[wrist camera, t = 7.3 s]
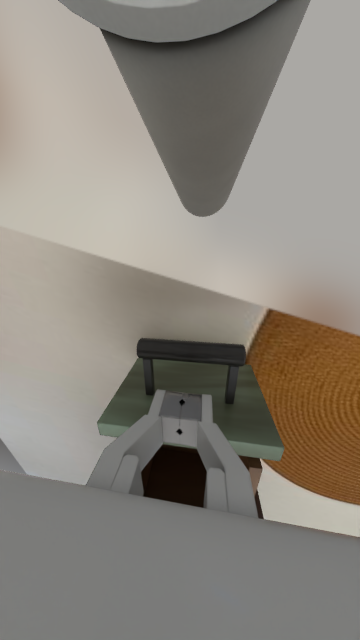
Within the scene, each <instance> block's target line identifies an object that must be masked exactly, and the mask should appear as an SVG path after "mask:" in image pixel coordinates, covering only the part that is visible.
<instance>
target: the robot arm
mask: <svg viewBox="0 0 360 640" xmlns="http://www.w3.org/2000/svg"><path fill="white" fill-rule="evenodd" d="M163 442H166V443H174V444H182V445H188V446H193V447H197V450H198V453H199V455H200V457H201V460H202V462H203V464H204V466H205V469H206V471H207V475H206V485H205V494H204V508H201V507H196V506H191V505H185V504H180V503H175V502H169V501H164V500H159V499H154V498H148V497H143V493H144V490H143V484H142V477H141V471H142V470H143V468H144V467H145V466H146V465H147V463H148V462H149V461H150V460H151V458H152V457H153V456H154V454H155V453H156V452H157V451H158V449H159V448H160V447H161V445H162V444H163ZM0 640H360V537H356V536H350V535H345V534H340V533H334V532H329V531H324V530H318V529H313V528H308V527H302V526H297V525H292V524H286V523H281V522H276V521H270V520H265V519H260V518H258V513H257V508H256V503H255V498H254V493H253V488H252V483H251V478H250V473H249V471H248V470H247V468H246V467H245V465H244V464H243V462H242V461H241V459H240V458H239V456H238V455H237V454H236V452H235V451H234V449H233V448H232V446H231V445H230V443H229V442H228V440H227V439H226V437H225V436H224V435H223V433H222V432H221V430H220V429H219V427H218V426H217V424H216V423H213V412H212V396H211V395H206V394H196V393H185V392H184V393H183V392H176V391H168V390H159V389H157V391H156V393H155V395H154V398H153V401H152V404H151V407H150V410H149V413H148V415H144V416H143V417H142V418H140V419H139V420H138V421H137V422H136V423H135V424H133V425H132V426H131V427H130V428H129V429H127V430H126V431H125V432H124V433H123V434H122V435H120V436H119V437H118V438H117V439H116V440H115V441H113V442H112V443H111V444H110V445H109V446H107V447H106V448H105V449H104V451H103V453H102V454H101V456H100V458H99V460H98V462H97V464H96V466H95V468H94V470H93V472H92V474H91V476H90V478H89V480H88V482H87V484H86V486H84V485H79V484H74V483H68V482H63V481H58V480H52V479H47V478H42V477H36V476H31V475H26V474H20V473H15V472H10V471H4V470H0Z"/></svg>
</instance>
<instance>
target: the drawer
mask: <svg viewBox="0 0 360 640" xmlns="http://www.w3.org/2000/svg"><path fill="white" fill-rule="evenodd" d="M137 356H138V357H139V358H138V359H137V361H136V362H135V364H134V366H133V367H132V369H131V370H130V372H129V373H128V375H127V377H126V378H125V380H124V381H123V383H122V384H121V386H120V387H119V389H118V391H117V392H116V394H115V395H114V397H113V398H112V400H111V402H110V403H109V405H108V406H107V408H106V409H105V411H104V413H103V414H102V416H101V417H100V419H99V420H98V422H97V425H98V429H99V433H100V435H104V436H111V437H119V436H120V435H122V434H123V433H124V432H125V431H126V430H127V429H129V428H130V427H131V426H132V425H133V424H135V423H136V422H137V421H138V420H139V419H140V418H142V417H143V416H144V415H148V413H149V410H150V407H151V404H152V401H153V398H154V395H155V393H156V391H157V389H159V390H168V391H176V392H183V393H184V392H185V393H196V394H206V395H211V396H212V412H213V423H216V424H217V426H218V427H219V429H220V430H221V432H222V433H223V435H224V436H225V437H226V439H227V440H228V442H229V443H230V445H231V446H232V448H233V449H234V451H235V452H236V454H237V455H238V456H239V458H240V459H241V461H242V462H243V464H244V465H245V467H246V468H247V470H248V471H249V473H250V478H251V483H252V488H253V493H254V497H255V494H256V490H257V487H258V483H259V480H260V476H261V473H262V465H261V462H260V458H262V459H269V460H275V461H280V460H281V457H282V454H283V451H284V446H283V444H282V441H281V439H280V436H279V434H278V431H277V429H276V426H275V424H274V421H273V419H272V416H271V414H270V412H269V409H268V407H267V404H266V402H265V399H264V397H263V394H262V392H261V389H260V387H259V384H258V382H257V380H256V377H255V375H254V372H253V370H252V367H251V365H244V364H245V359H246V352H245V347H244V345H241V344H226V343H210V342H195V341H180V340H165V339H150V338H141V339H140V340H139V341H138V344H137ZM206 475H207V471H206V469H205V466H204V464H203V462H202V460H201V457H200V455H199V453H198V450H197V447H193V446H188V445H182V444H174V443H166V442H163V444H162V445H161V447H160V448H159V449H158V451H157V452H156V453H155V454H154V456H153V457H152V458H151V460H150V461H149V462H148V463H147V465H146V466H145V467H144V468H143V470H142V471H141V477H142V484H143V490H144V493H143V497H148V498H154V499H159V500H164V501H169V502H175V503H180V504H185V505H191V506H196V507H201V508H204V494H205V485H206Z"/></svg>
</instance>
